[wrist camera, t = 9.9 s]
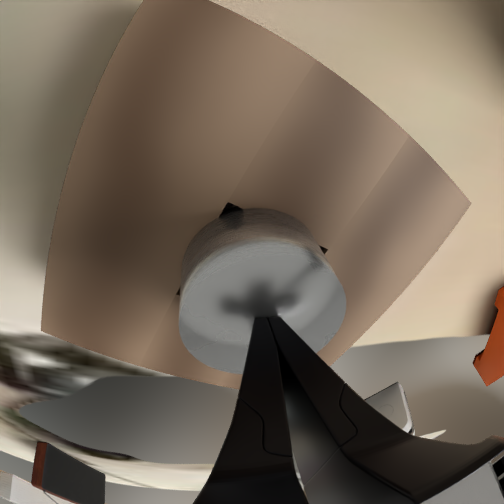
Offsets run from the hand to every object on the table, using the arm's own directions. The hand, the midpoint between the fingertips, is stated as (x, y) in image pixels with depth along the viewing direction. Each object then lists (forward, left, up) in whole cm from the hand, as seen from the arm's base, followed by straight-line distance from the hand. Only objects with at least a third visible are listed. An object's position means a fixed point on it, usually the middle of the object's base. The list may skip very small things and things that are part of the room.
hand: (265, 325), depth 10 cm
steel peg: (0, 0, -8) cm, 8 cm away
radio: (+4, +54, -8) cm, 55 cm away
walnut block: (0, 0, -8) cm, 8 cm away
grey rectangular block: (+16, +124, -8) cm, 125 cm away
